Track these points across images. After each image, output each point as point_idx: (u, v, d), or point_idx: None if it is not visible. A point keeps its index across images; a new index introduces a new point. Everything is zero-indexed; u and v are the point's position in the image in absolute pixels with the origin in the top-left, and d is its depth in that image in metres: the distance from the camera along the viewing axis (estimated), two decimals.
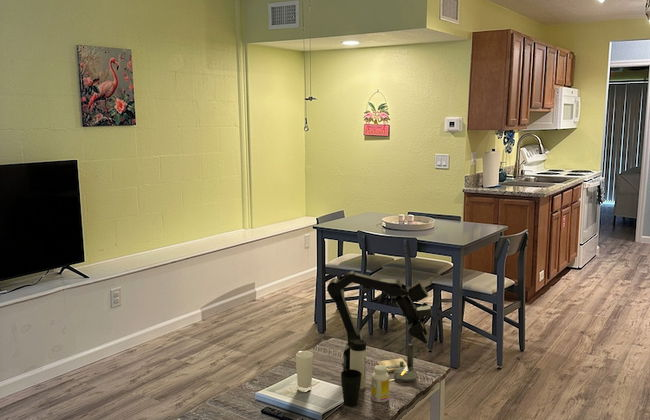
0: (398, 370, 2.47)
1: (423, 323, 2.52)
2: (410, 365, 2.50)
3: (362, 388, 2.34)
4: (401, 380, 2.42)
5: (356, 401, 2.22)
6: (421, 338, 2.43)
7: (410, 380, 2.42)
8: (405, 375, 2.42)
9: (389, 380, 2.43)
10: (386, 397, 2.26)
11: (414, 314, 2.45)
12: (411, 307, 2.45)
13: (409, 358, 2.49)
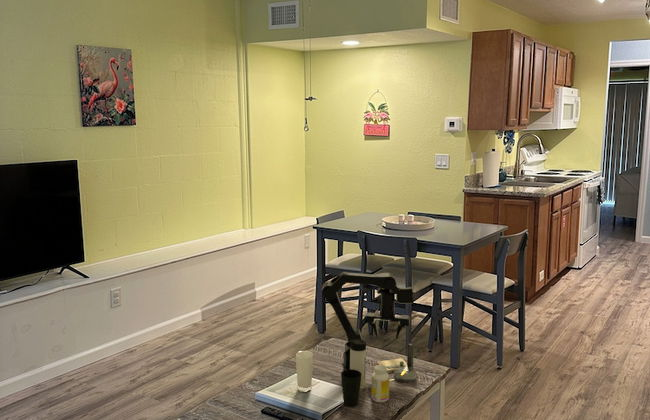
0: (398, 370, 2.47)
1: None
2: (410, 365, 2.50)
3: (362, 388, 2.34)
4: (401, 380, 2.42)
5: (356, 401, 2.22)
6: (399, 332, 2.52)
7: (410, 380, 2.42)
8: (405, 375, 2.42)
9: (389, 380, 2.43)
10: (386, 397, 2.26)
11: None
12: None
13: (409, 358, 2.49)
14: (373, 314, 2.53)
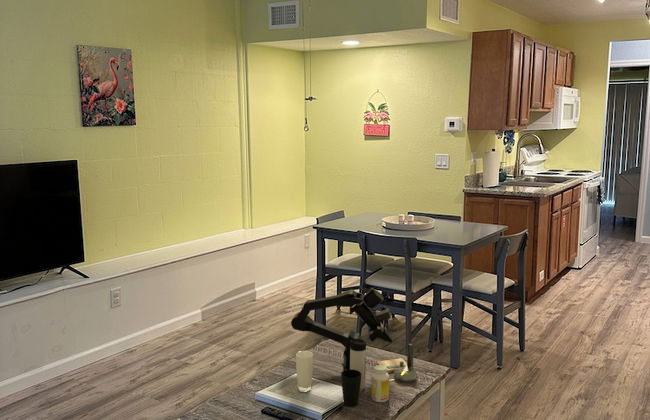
0: (398, 370, 2.47)
1: (386, 331, 2.51)
2: (410, 365, 2.50)
3: (362, 388, 2.34)
4: (401, 380, 2.42)
5: (356, 401, 2.22)
6: (385, 338, 2.50)
7: (410, 380, 2.42)
8: (405, 375, 2.42)
9: (389, 380, 2.43)
10: (386, 397, 2.26)
11: (374, 320, 2.48)
12: (369, 314, 2.49)
13: (409, 358, 2.49)
14: None
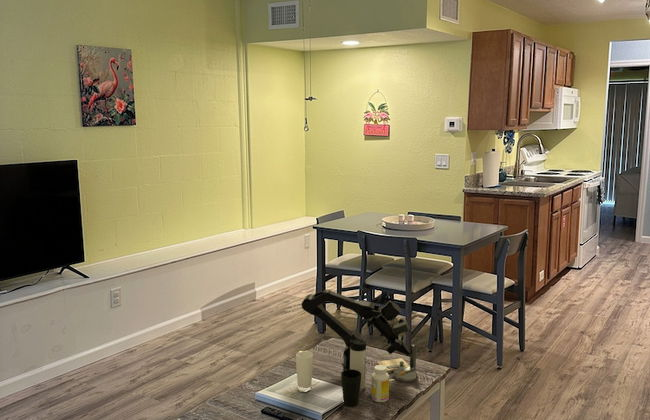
0: (399, 369, 2.47)
1: (404, 343, 2.50)
2: (412, 366, 2.49)
3: (362, 388, 2.34)
4: (399, 380, 2.42)
5: (356, 401, 2.22)
6: (403, 351, 2.49)
7: (408, 380, 2.41)
8: (404, 375, 2.42)
9: (389, 380, 2.43)
10: (386, 397, 2.26)
11: (391, 332, 2.48)
12: (387, 326, 2.48)
13: (411, 359, 2.49)
14: None
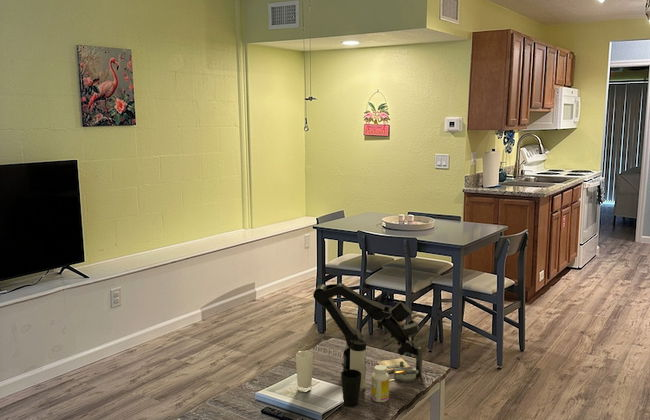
0: (402, 368, 2.48)
1: (414, 344, 2.50)
2: (417, 368, 2.47)
3: (362, 388, 2.34)
4: (395, 377, 2.44)
5: (356, 401, 2.22)
6: (413, 352, 2.48)
7: (402, 380, 2.42)
8: (400, 374, 2.43)
9: (389, 380, 2.43)
10: (386, 397, 2.26)
11: (402, 334, 2.47)
12: (397, 327, 2.47)
13: (416, 361, 2.47)
14: None
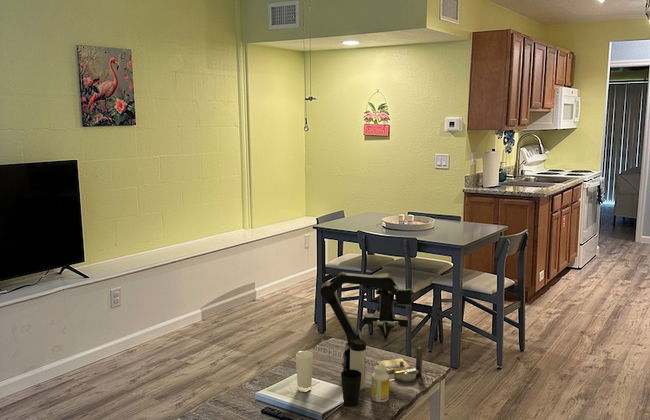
0: (402, 368, 2.48)
1: None
2: (417, 368, 2.47)
3: (362, 388, 2.34)
4: (395, 377, 2.44)
5: (356, 401, 2.22)
6: (388, 333, 2.51)
7: (402, 380, 2.42)
8: (400, 374, 2.43)
9: (389, 380, 2.43)
10: (386, 397, 2.26)
11: None
12: None
13: (416, 361, 2.47)
14: (372, 315, 2.52)
